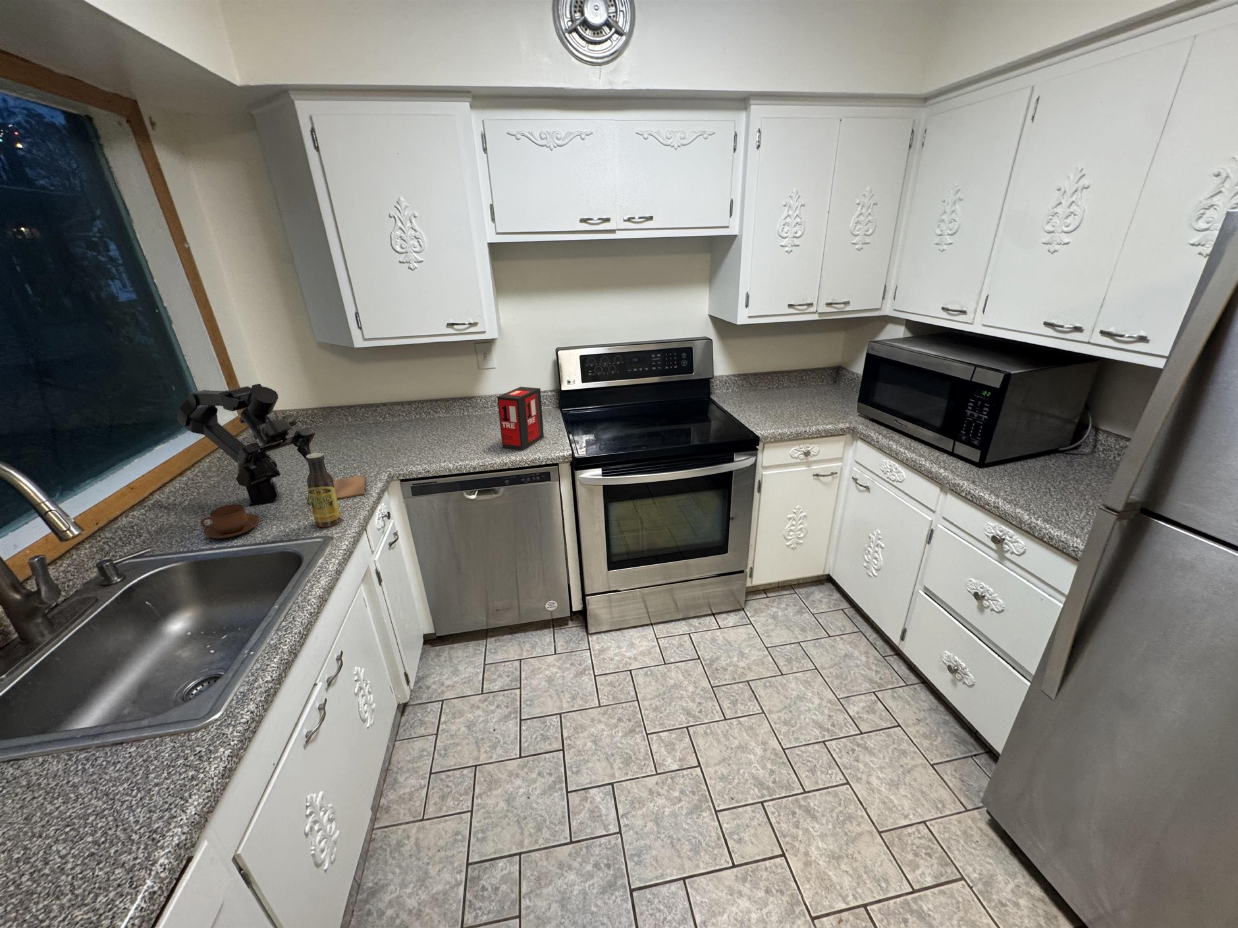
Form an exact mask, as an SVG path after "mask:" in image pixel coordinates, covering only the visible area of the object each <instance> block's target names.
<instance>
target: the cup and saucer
mask: <svg viewBox="0 0 1238 928" xmlns="http://www.w3.org/2000/svg"><path fill="white" fill-rule="evenodd" d="M207 520H209V521H210V520H211V522H212V523H210V524H208V525H207V524H205V523H204V522H205V521H207ZM259 522H260V517H259V516H258V515H256V514H253V513H247V512H246V509H245V505H244V504H239V503H232V504H227V505H223V506H220V507H217V508H215V509H213V510H212V511H210V513H209V516H205V517H203V518H201V519H200V522H199V524H200V525H201V527H203V528H204V529H203V534H204V536H206V537H208V538H211V539H227V538H232V537H236V536H240V535H242V534H245V533H246V532H249V531H250V530H252V529H253V528H255V527H256V526H257V525H258V523H259Z"/></svg>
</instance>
